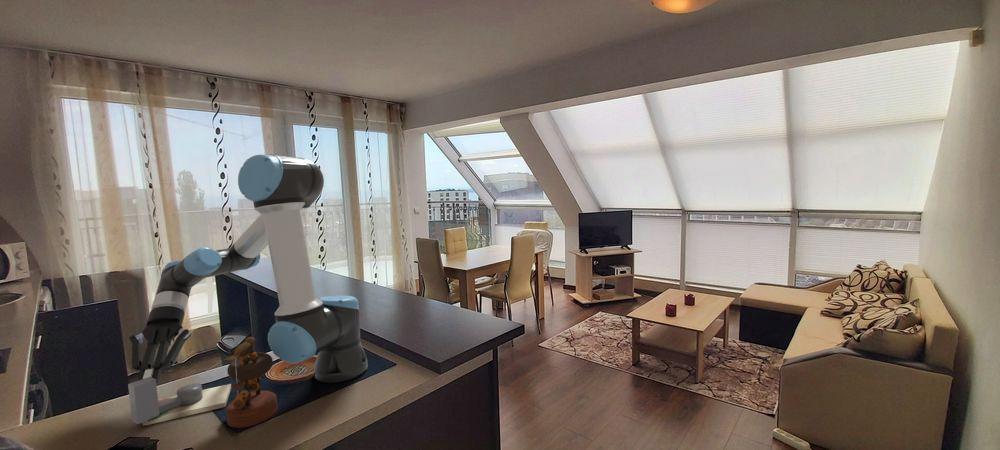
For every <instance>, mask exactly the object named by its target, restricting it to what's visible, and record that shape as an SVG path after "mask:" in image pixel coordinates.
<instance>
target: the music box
mask: <svg viewBox="0 0 1000 450" xmlns="http://www.w3.org/2000/svg"><path fill="white" fill-rule="evenodd" d="M256 343H257V342H256V338H255V337H254V336H249V337H246V338H245V339H244V341H243V342H242V343H240V344H238V345H236V347H235V348H233V350H232V351H231V352H230V353H229V356H227V357H226V358H224V359H223V361H228V362H230V363H229V365H228V366H227V375H228V376H229V378H231V379H232V380H235V381H237V382H235V384H233V385H231V388H232V392H237V394H236V395H235V398H234V399H233V400H232V401H231V402H230V403H229V404H228V405H226V407H225V408H226V409H225V414H226V424H227V425H228V426H229V427H231V428H237V429H238V428H239V429H240V428H249V427H251V426H255V425H258V424H260V423H263V422H265V421H267V420H268V419H270V418H271V417H273V416H274V415H275V414H276V413H277V410H278V399H277V394H275V392H273V391H269V390H261V383H260V382H261V381H262V380H263V379H264V378H265V376H264V375H265V374H267V373H268V372H269V371H270V370H271V368H272V366H273V364H274V361H273V357H272V356H271V355H270V354H268V353H266V352H256V351H253V350H255V345H256ZM252 351H253V352H252ZM251 352H252V353H251ZM242 388H243V389H242ZM240 389H242V390H240ZM239 390H240V392H239Z"/></svg>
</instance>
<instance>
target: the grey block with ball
mask: <svg viewBox="0 0 1000 450" xmlns="http://www.w3.org/2000/svg"><path fill="white" fill-rule="evenodd" d="M127 386H128V395H129V404H130V405H129V406H130V407H129V408H130V416H131V421H132V422H133V423H135V424H137V425H140V424H142V422H145V421H147V420H149V419H152V418H154V417H156V416H159V414H160V413H162V412H165V411H167V410H169V409H172V408H174V407H176V406H179V405H180V406H184V405H190V404H193V403H196V402H198V401H199V400H201V399H202V397H203V395H202V390H203V386H202V384H201V383H197V382H196V383H191V384H186V385H184V386H182V387H179V388H178V389H177V390H176V395H177V397H175V398H173V399H170V400H168V401H165V402H163V403H160V404H158V399H159V398H158V389H157V384H156V379H154V378H152V377H148V378H145V379H142V380H139V381H138V380H137V381H133V382H131V383H128V384H127Z"/></svg>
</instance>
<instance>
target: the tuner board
mask: <svg viewBox="0 0 1000 450" xmlns="http://www.w3.org/2000/svg"><path fill="white" fill-rule="evenodd" d="M231 390H232V383H228V384H223V385H219V386H215V387H209V388H205V389H202V395H203V397H202V399H201V400H199V401H198V402H196V403H193V404H190V405H184V406H180V405H179V406H176V407H174V408H172V409H169V410H167V411H165V412H162V413H160V414H159V416H156V417H154V418H152V419H149V420H147V421H145V422H142V423H141V424H142V426H143V427H145V425H146V426H149V425H152V424H157V423H162V422H167V421H170V420H174V419H179V418H184V417H188V416H192V415H196V414H201V413H205V412H209V411H213V410H214V411H215V410H219V409H223V408H226V407H227V403H228V400H229V396H230V393H231ZM175 397H177V394H176V395H171V396H167V397H162V398H158V404H160V403H163V402H165V401H168V400H170V399H173V398H175Z"/></svg>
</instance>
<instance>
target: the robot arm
mask: <svg viewBox="0 0 1000 450" xmlns="http://www.w3.org/2000/svg"><path fill="white" fill-rule="evenodd" d="M324 184H325V178H324V174H323V172H322V170H321V168H320V167H319V165H317V164H316V163H315V162H313V161H312V160H311V159H310V160H309V159H308V158H304V157H295V156H294V157H292V156H284V155H278V154H277V155H276V154H272V153H271V154H256V155H252V156H251V157H249V158H247V159H246V160H245V161H244V162H243V164H242V166H241V167H240V169H239V171H238V176H237V185H238V189H239V192H240V194H242V195H243V198H245V199H247V200H249V201H251V202H252V203H253V206H254V207H253V208H254V211H255V212H257V213H259V215H258V217H257V218H256V219H255V220H254V221H253V222H252V223H251V224H250V226H248V227H247V229H245V231H243V233H242V234H241V235H240V236H239V238H238V239H237V240H236V241H235V242H234V243H233V244H232V245H231V246H230V247H229V248H223V249H218V250H216V249H214V248H210V247H208V246H207V247H205V246H204V247H203V246H202V247H199V248H197V249H195V250H194V251H191V252H190V253H189V254H188V255H186V256H185V257H184V258H183V259H181V260H180V259H179V260H173V261H169V262H167V263H166V265H165V266H164V267H163V270H162V271H161V273H160V280H159V282H158V286H157V289H156V292H155V296H154V299H153V301H152V305H151V308H150V312H149V315H148V318H147V321H146V324H145V325H146V326H145V327H144V328H143V329H142V331H141V333H139V334H137V335H133V334H132V335H131V336H129V337H128V339H129V341H130V343H131V368H132V370H134V371H135V372H136V373H139V376H138V379H137V381H139V380H142V379H145V378H148V377H152V378H154V379H156V385H157V384H159V382H160V378H161V374H162V371H164V370H165V369H171V368H172V367H173V366H174V364H175V361H176V359H177V358H178V356H179V354H180V351H181V350H182V348H183V346H184V344H185V342H186V341H187V340H188V339H190V337H191V336H192V333H191V332H190V331H189V329H184V328H183V322H184V319H185V318H184V317H185V312H186V311H187V305H188V302H189V298H190V293H191V291H192V288H193V287H195V285H197V284H199V283H200V282H201V281H202V280H204V279H207V278H210V277H215V276H220V275H221V276H222V275H224V274H228V273H233V272H238V271H242V270H243V271H244V270H249V269H250V268H254V267H256V266H257V265H258V264H259V263H260V259H261V253H262V252H263V251H264V250H265V249H266V248H267V246H268V250H269V255H270V259H271V265H272V266H271V267H272V270H273V275H274V281H275V287H276V291H277V298H278V302H279V303H278V304H279V306H278V308H277V309H276V311H275V312H274V317H275V323H274V324H273V325H272V326H271V327H270V328H269V331H268V332H267V333H268V334H267V342H268V345H269V347H270V348H269V349H270V350H271V351H272V353H273V354H274V355H275V356H276V357H277V358H279V360H281V361H282V362H285V363H288V364H298V363H302V362H303V361H305V360H308V359H311V358H313V357H314V356H315V355H317V356H316V360H315V362H314V367H313V372H314V371H315V373H316V375H315V377H314V379H315V380H316V381H318V382H322V383H329V384H330V383H340V382H346V381H348V380H351V379H355V378H357V377H359V376H360V374H361V375H362V374H364V373H365V372H366V371H367V369H368V364H369V363H368V358H367V355H366V353H365V350H364V348H363V346H362V343H361V328H360V327H361V325H360V306H359V300H358V298H356V296H351V295H328V296H327V295H326V296H322V297H319V298H317V296H316V292H315V286H314V281H313V275H312V269H311V264H310V259H309V255H308V254H309V253H308V247H307V242H306V237H305V231H304V227H303V226H304V225H303V220H302V215H301V211H302V210H305V209H306V210H307V209H308V208H310V206H312V205H313V203H315V202H316V200H318V198H319V197H320V195H321V194H322V192H323V189H324V186H325V185H324ZM144 338H145V339H146V341H147V342H146V343H147V345H146V349H145V352H144V356H143V342H144ZM174 339H175V340H174ZM173 340H174V342H173V344H172V341H173ZM171 344H172V345H171ZM170 346H171V347H170ZM169 348H170V349H169ZM365 370H366V371H365ZM364 371H365V372H364ZM363 372H364V373H363ZM358 375H359V376H358Z"/></svg>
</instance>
